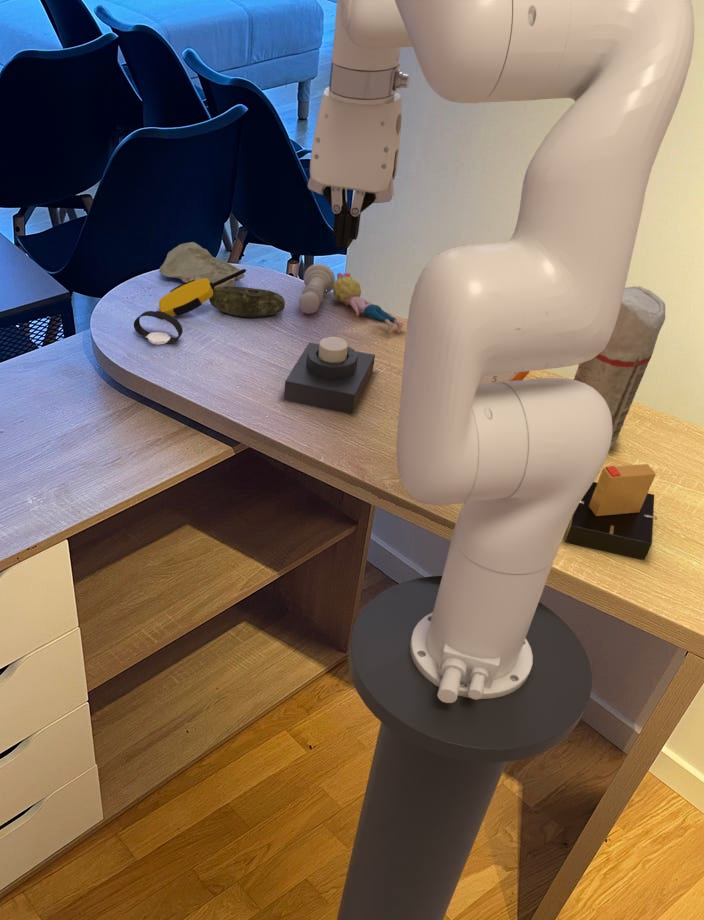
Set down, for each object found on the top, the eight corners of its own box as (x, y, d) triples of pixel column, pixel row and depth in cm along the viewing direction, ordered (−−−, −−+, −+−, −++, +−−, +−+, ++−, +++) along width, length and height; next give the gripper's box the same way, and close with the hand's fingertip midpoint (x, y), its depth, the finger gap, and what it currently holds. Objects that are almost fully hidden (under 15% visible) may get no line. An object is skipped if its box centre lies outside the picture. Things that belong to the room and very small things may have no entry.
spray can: (569, 414, 126) (617, 272, 112) (626, 435, 122) (683, 292, 108) (543, 439, 121) (589, 295, 107) (601, 462, 118) (656, 317, 104)
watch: (142, 328, 141) (132, 344, 140) (137, 303, 137) (126, 319, 136) (186, 339, 139) (176, 354, 138) (182, 313, 135) (172, 329, 134)
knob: (631, 502, 108) (648, 462, 104) (639, 512, 106) (656, 472, 102) (588, 506, 107) (603, 465, 103) (595, 516, 106) (611, 476, 102)
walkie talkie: (165, 324, 144) (251, 286, 140) (160, 316, 143) (246, 277, 138) (162, 303, 146) (246, 264, 142) (156, 295, 145) (241, 255, 140)
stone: (254, 267, 151) (214, 293, 147) (254, 283, 153) (214, 309, 149) (188, 237, 157) (148, 260, 153) (189, 253, 159) (150, 276, 155)
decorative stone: (279, 304, 148) (281, 280, 145) (286, 317, 145) (288, 293, 142) (208, 309, 146) (208, 285, 144) (213, 323, 143) (213, 298, 140)
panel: (647, 561, 104) (655, 543, 102) (561, 541, 106) (568, 523, 104) (650, 511, 111) (658, 493, 109) (569, 494, 113) (575, 476, 111)
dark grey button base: (352, 414, 125) (356, 381, 122) (283, 400, 127) (285, 367, 124) (372, 373, 133) (377, 341, 129) (307, 360, 135) (310, 329, 132)
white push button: (342, 366, 125) (344, 352, 124) (314, 361, 126) (316, 347, 125) (349, 353, 128) (351, 339, 126) (322, 348, 129) (323, 334, 127)
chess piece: (339, 290, 150) (326, 320, 145) (309, 295, 152) (295, 324, 147) (331, 260, 146) (317, 289, 141) (300, 265, 149) (286, 295, 143)
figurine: (405, 337, 143) (346, 297, 152) (415, 310, 141) (354, 271, 149) (379, 339, 140) (320, 298, 148) (388, 311, 137) (328, 271, 145)
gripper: (434, 80, 103) (407, 241, 117) (309, 64, 107) (297, 223, 120) (421, 98, 98) (394, 264, 112) (290, 81, 102) (280, 245, 115)
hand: (344, 243), depth 116 cm, fingers closed
